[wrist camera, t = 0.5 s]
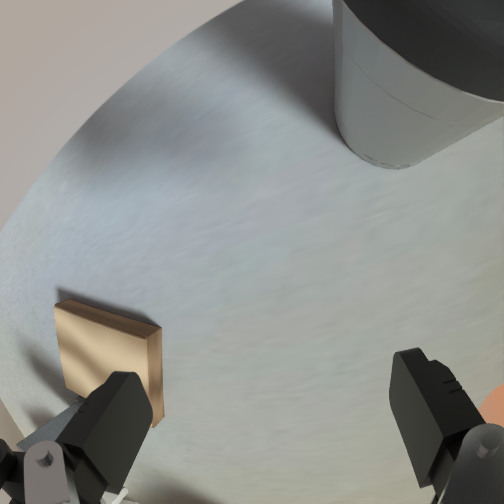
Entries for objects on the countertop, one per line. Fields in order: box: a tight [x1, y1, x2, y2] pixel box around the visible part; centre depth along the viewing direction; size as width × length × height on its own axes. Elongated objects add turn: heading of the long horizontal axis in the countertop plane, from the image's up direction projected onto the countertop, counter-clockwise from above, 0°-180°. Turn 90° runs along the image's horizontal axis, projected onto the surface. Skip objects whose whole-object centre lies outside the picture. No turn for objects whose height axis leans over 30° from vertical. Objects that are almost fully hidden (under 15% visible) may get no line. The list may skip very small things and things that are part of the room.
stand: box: [54, 299, 164, 428], centre depth 31 cm, size 12×14×3 cm
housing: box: [16, 396, 85, 452], centre depth 28 cm, size 5×8×16 cm, turn 84°
